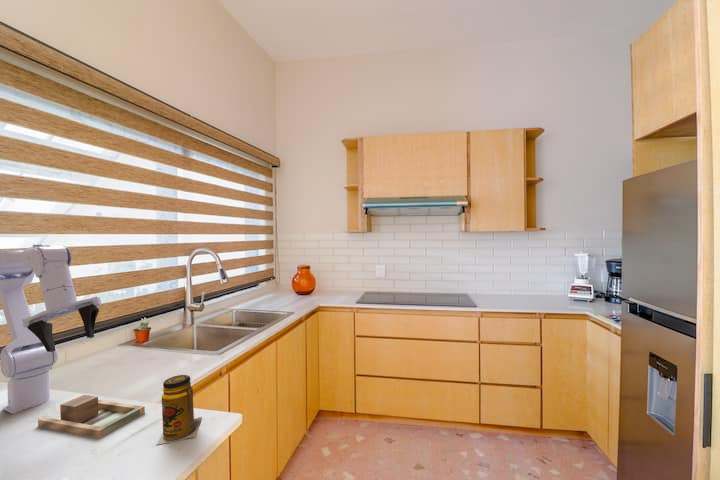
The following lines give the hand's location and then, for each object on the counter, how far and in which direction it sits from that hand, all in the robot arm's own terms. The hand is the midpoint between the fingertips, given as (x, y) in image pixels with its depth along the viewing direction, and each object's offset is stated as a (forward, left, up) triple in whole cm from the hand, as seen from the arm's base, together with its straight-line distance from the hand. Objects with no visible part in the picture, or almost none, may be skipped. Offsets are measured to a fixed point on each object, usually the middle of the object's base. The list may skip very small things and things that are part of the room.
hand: (71, 344), depth 76 cm
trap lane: (+4, +2, -19) cm, 20 cm away
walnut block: (-1, +1, -18) cm, 18 cm away
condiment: (+27, +9, -19) cm, 34 cm away
